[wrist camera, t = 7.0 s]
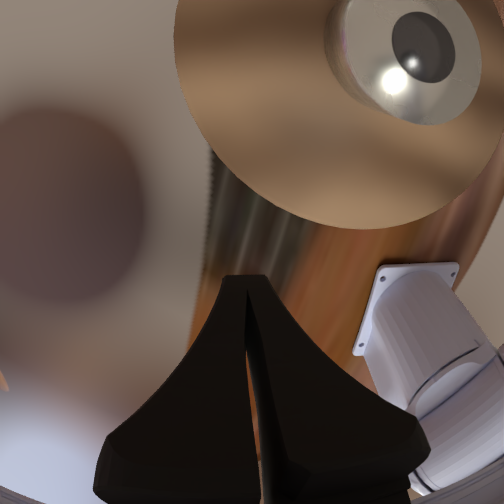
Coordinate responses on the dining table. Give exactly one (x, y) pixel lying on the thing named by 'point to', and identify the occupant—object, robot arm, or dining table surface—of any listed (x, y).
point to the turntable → (326, 115)
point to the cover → (405, 57)
